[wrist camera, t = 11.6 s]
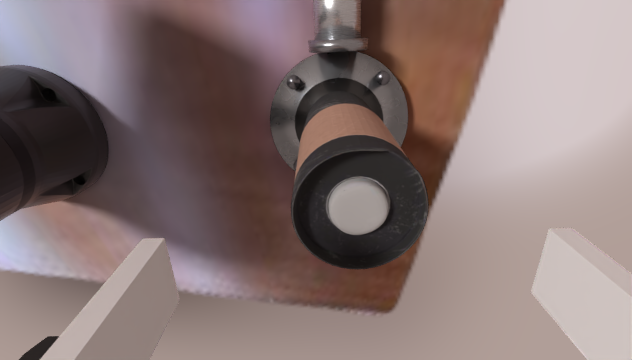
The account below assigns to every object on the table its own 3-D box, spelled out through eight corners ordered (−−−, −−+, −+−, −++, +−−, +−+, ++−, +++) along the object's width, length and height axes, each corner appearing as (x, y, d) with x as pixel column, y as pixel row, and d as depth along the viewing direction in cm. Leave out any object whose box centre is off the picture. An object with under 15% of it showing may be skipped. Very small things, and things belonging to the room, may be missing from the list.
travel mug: (309, 161, 38) (301, 278, 20) (298, 93, 35) (275, 157, 17) (377, 152, 38) (432, 263, 19) (371, 82, 35) (430, 135, 16)
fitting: (277, 184, 41) (271, 206, 36) (257, -20, 32) (245, -30, 27) (402, 180, 40) (414, 201, 35) (414, -28, 32) (432, -41, 27)
